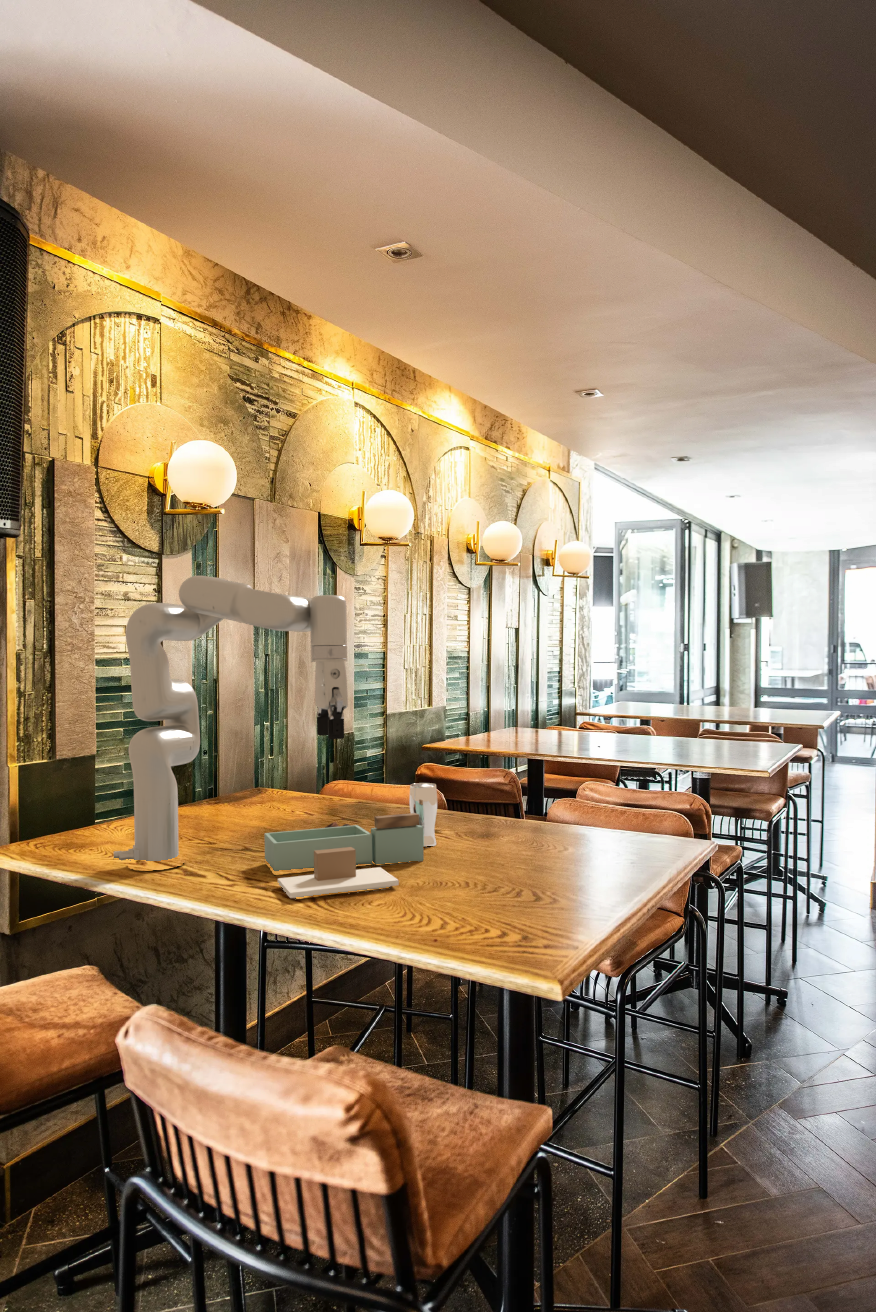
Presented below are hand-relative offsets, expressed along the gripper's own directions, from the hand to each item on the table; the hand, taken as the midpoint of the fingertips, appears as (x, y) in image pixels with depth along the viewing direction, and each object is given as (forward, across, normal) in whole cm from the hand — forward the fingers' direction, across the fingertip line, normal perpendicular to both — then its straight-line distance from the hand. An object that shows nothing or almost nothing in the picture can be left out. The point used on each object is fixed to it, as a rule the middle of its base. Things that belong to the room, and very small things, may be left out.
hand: (330, 737), depth 175 cm
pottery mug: (+31, +28, -8) cm, 42 cm away
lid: (+31, -4, 0) cm, 31 cm away
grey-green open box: (+30, +17, -7) cm, 35 cm away
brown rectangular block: (+22, +12, -18) cm, 31 cm away
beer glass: (+31, +26, -30) cm, 50 cm away
